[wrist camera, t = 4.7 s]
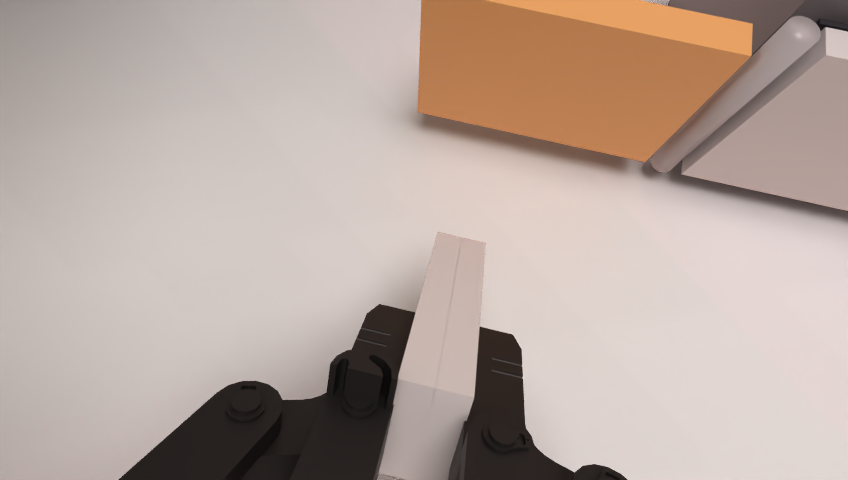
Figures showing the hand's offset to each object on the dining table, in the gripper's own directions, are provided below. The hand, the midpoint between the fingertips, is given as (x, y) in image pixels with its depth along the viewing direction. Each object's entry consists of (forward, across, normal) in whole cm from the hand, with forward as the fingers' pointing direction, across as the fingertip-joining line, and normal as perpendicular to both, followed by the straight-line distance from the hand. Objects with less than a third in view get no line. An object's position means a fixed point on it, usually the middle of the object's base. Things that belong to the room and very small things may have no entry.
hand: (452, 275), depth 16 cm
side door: (+9, +7, +3) cm, 12 cm away
